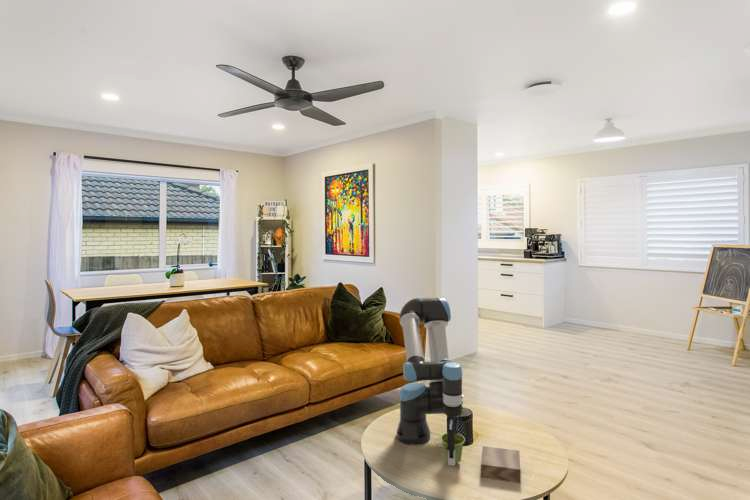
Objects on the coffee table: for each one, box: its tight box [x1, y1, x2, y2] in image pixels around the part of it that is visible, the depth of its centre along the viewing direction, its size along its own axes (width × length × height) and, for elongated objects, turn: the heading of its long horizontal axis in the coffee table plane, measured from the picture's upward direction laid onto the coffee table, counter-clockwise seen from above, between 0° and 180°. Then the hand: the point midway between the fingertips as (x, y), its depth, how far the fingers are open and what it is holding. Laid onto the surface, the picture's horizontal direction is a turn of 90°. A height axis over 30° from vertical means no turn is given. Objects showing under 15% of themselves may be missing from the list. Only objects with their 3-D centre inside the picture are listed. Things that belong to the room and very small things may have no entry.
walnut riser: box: [480, 445, 522, 484], centre depth 163 cm, size 14×14×5 cm
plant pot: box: [440, 432, 466, 464], centre depth 169 cm, size 9×9×9 cm
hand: (453, 458), depth 169 cm, fingers closed on plant pot, 8 cm apart
